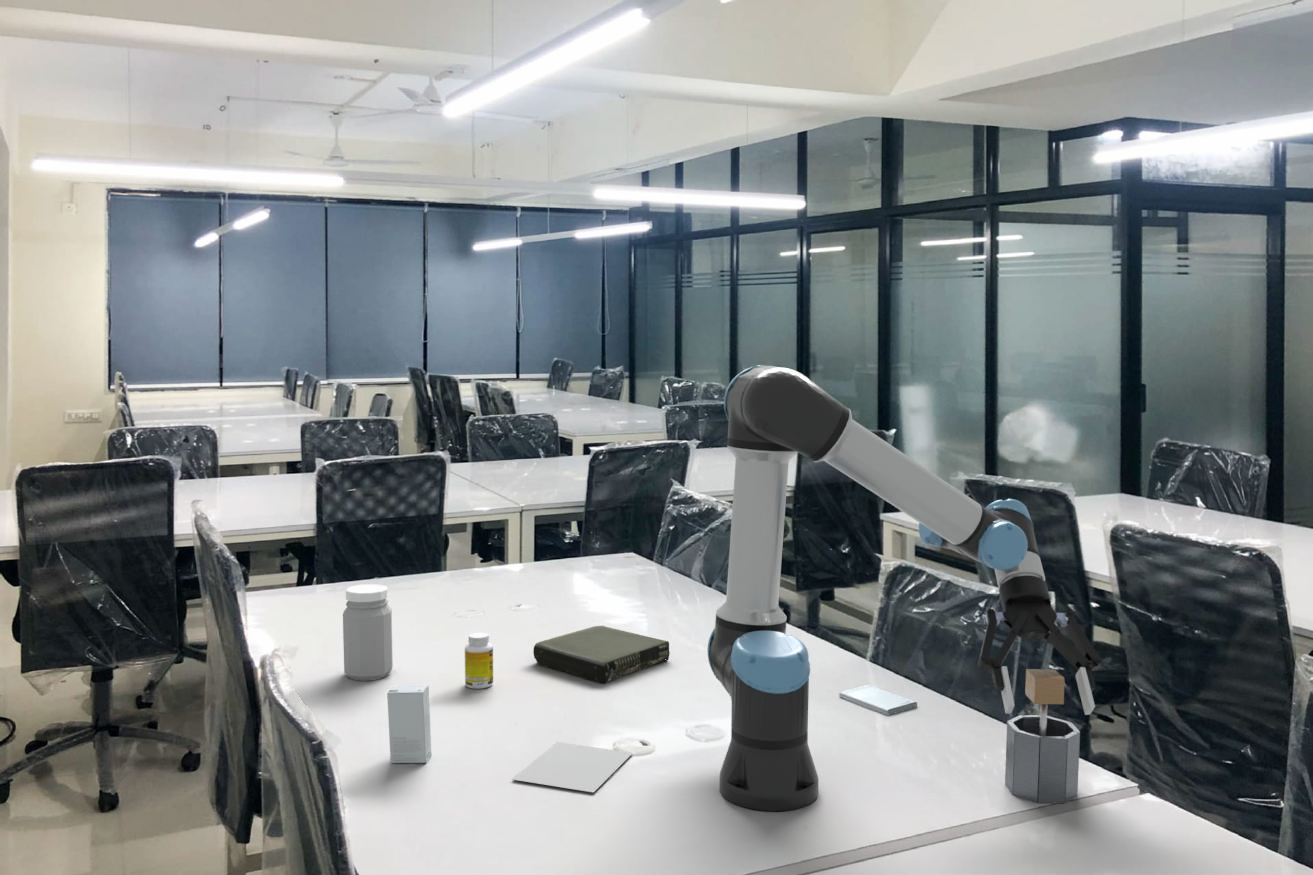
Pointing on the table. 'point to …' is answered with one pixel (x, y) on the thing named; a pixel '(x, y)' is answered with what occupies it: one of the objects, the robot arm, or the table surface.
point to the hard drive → (878, 699)
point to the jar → (367, 632)
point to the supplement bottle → (478, 661)
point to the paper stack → (573, 767)
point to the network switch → (600, 653)
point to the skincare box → (409, 723)
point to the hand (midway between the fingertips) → (1050, 710)
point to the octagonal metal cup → (1042, 759)
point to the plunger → (1044, 691)
